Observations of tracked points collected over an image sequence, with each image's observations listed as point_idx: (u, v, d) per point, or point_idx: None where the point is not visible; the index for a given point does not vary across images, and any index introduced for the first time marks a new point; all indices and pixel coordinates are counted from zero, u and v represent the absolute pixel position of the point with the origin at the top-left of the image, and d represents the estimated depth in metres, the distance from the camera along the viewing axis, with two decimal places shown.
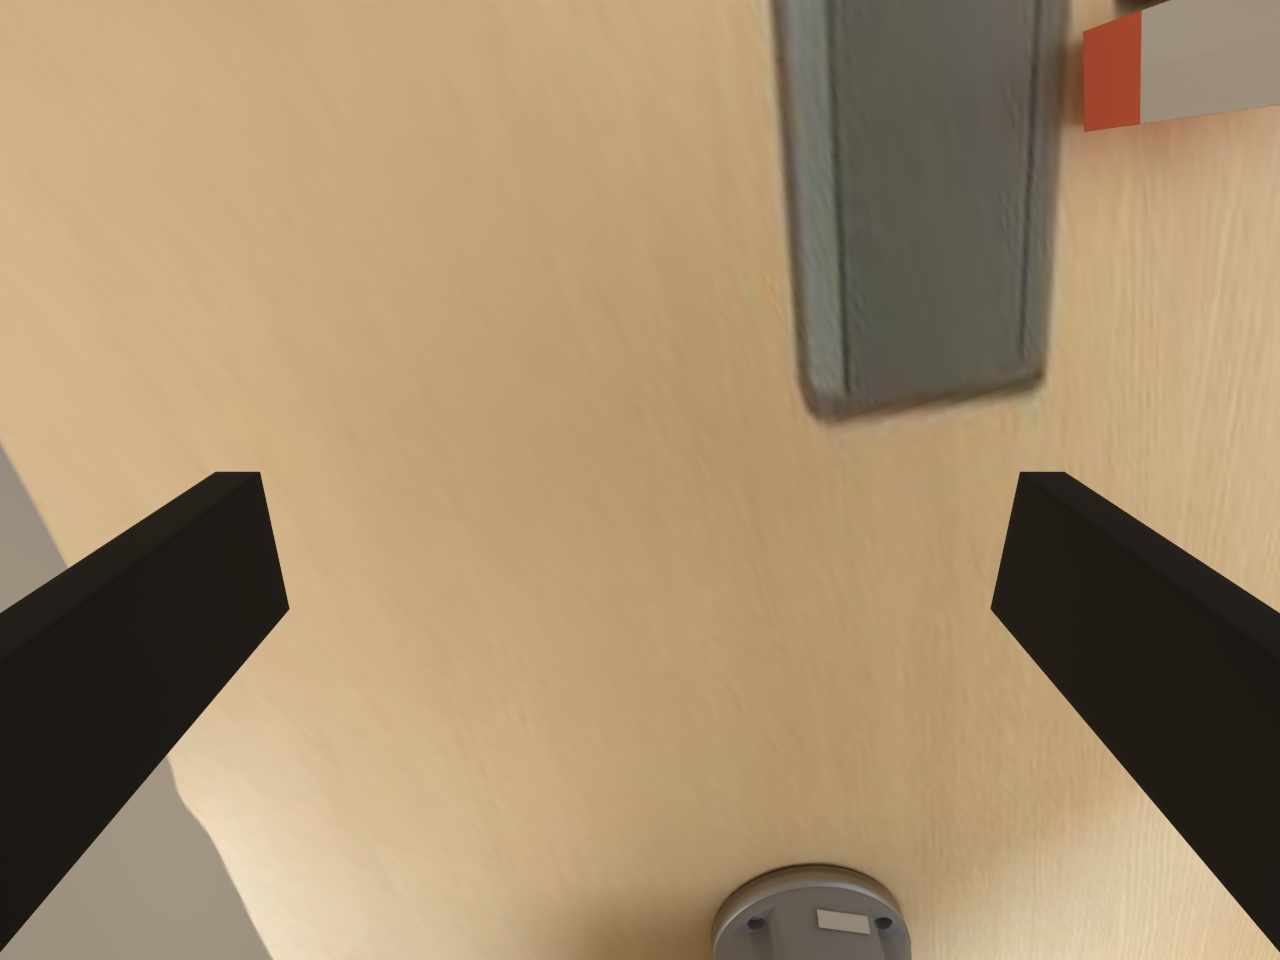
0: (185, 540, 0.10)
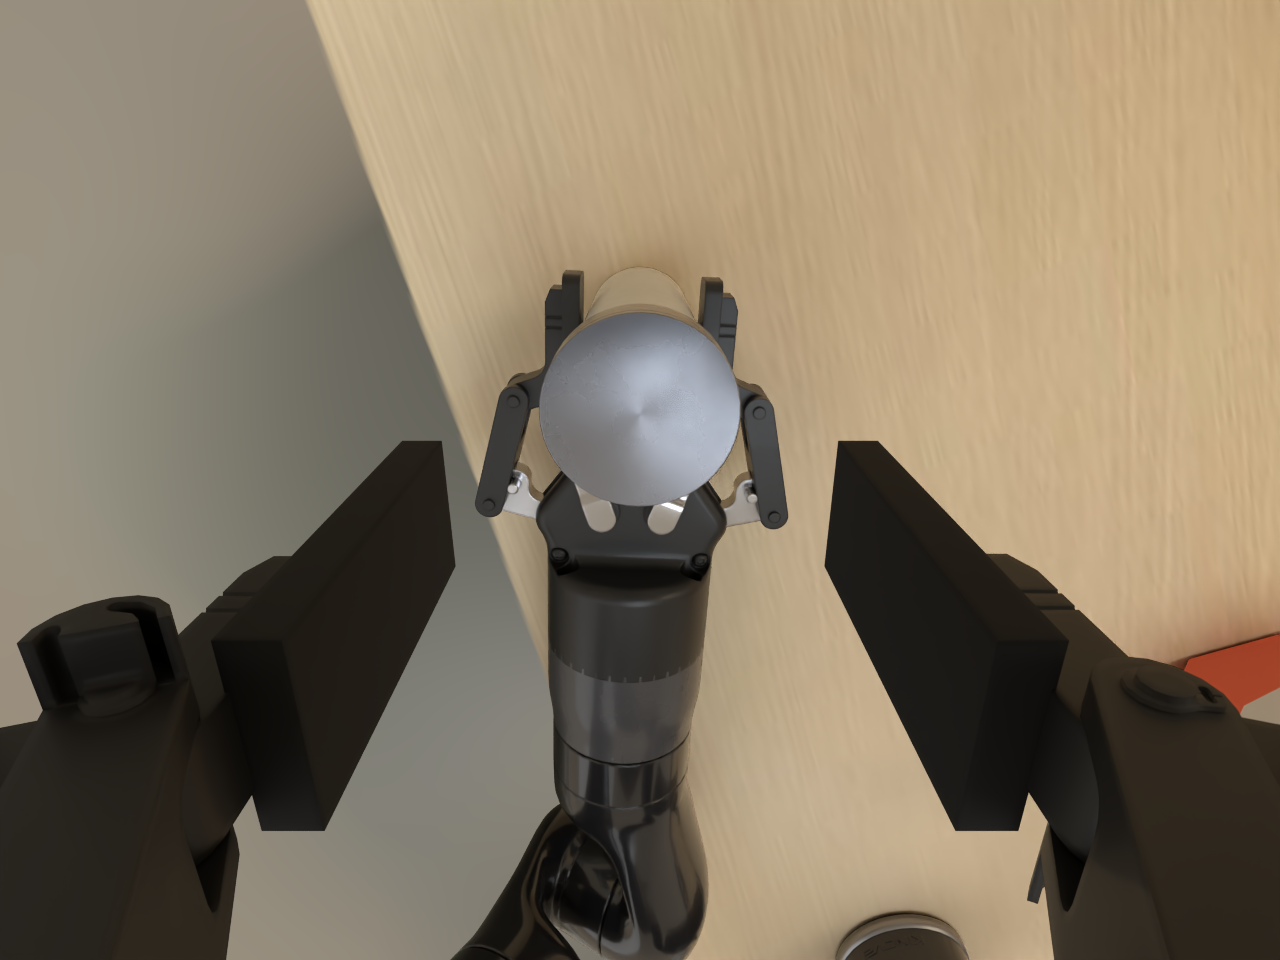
0: (407, 495, 0.12)
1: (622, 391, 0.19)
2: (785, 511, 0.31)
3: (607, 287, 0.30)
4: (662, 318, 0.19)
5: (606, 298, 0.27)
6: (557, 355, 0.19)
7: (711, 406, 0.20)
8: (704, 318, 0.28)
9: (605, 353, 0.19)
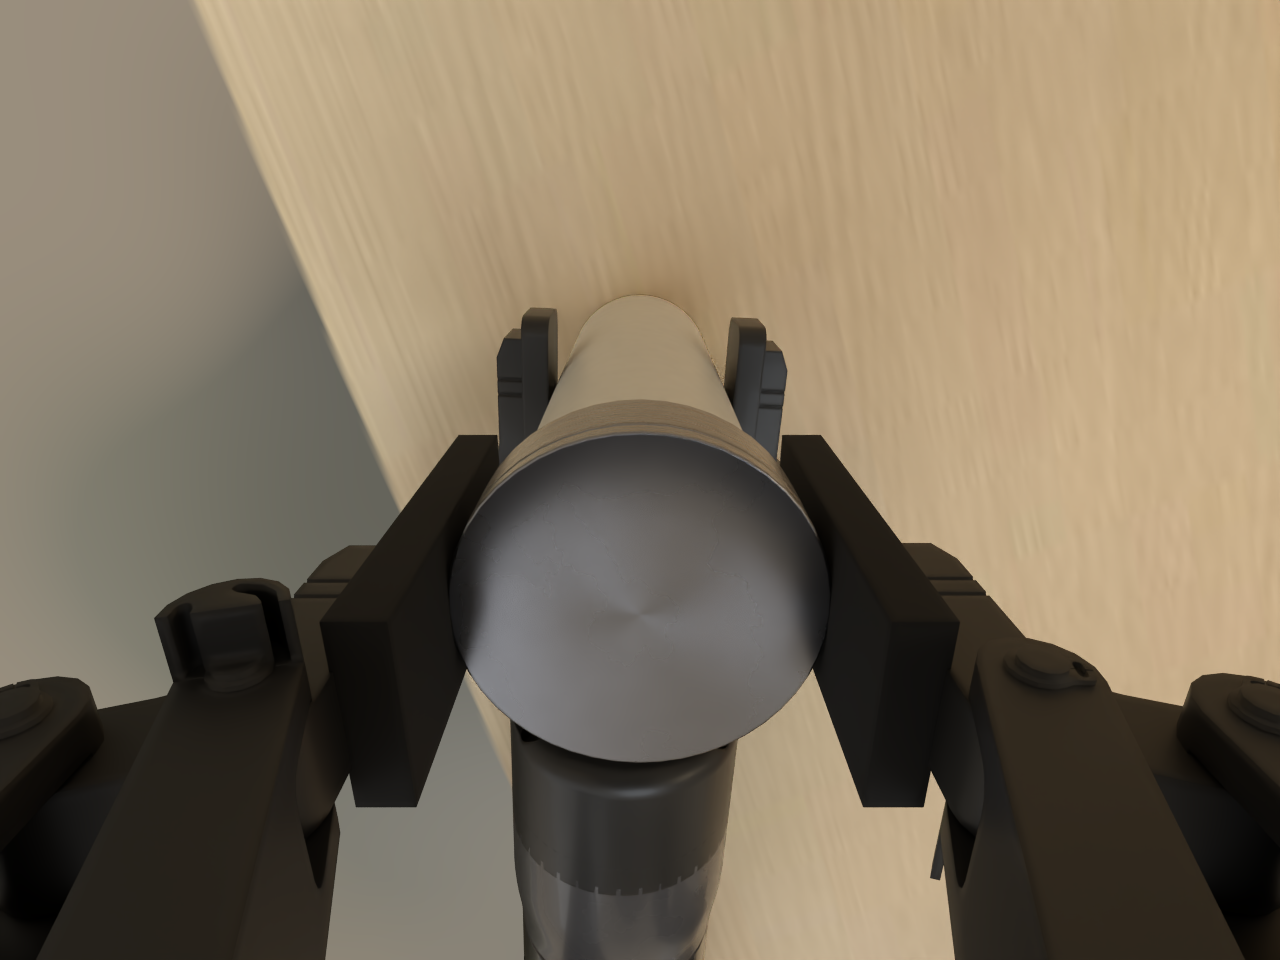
0: (473, 487, 0.12)
1: (606, 574, 0.10)
2: None
3: (593, 329, 0.21)
4: (684, 443, 0.09)
5: (588, 356, 0.17)
6: (478, 511, 0.10)
7: (776, 600, 0.10)
8: (737, 382, 0.18)
9: (572, 507, 0.10)
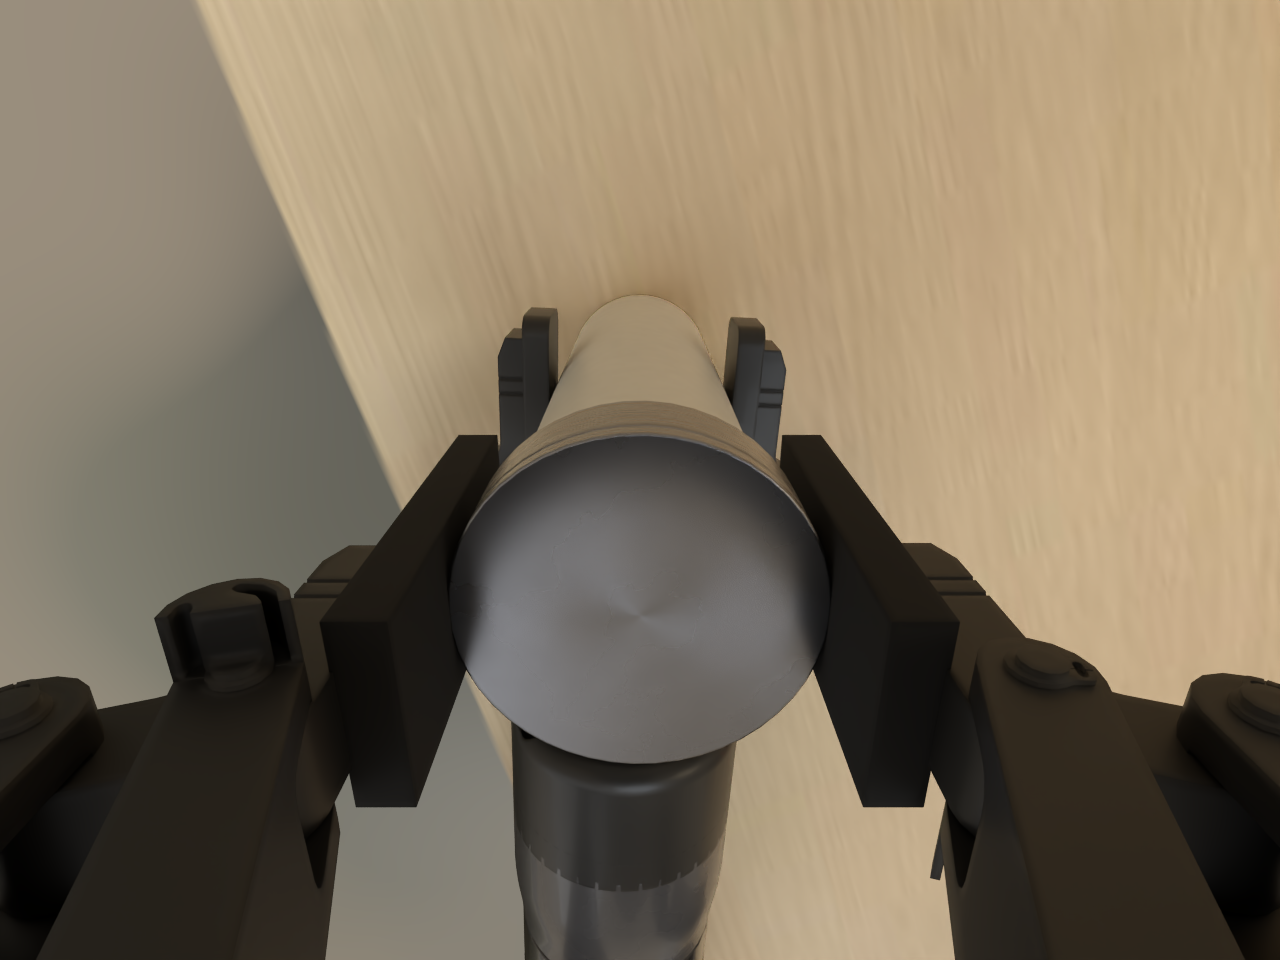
0: (473, 487, 0.12)
1: (615, 658, 0.11)
2: None
3: (593, 329, 0.21)
4: (465, 658, 0.11)
5: (588, 355, 0.17)
6: (614, 761, 0.11)
7: (555, 514, 0.10)
8: (736, 382, 0.18)
9: (571, 705, 0.11)
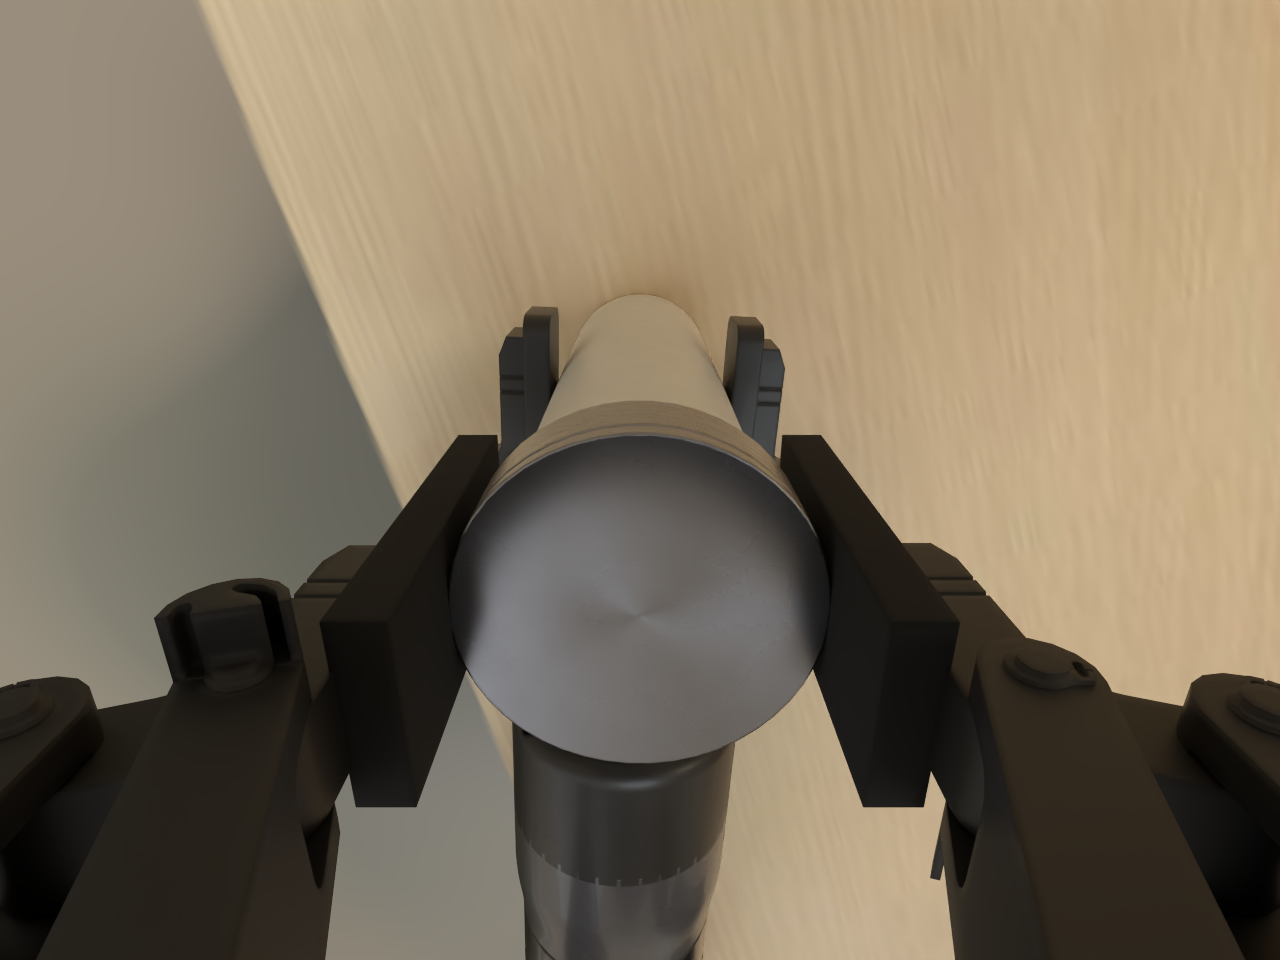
0: (473, 487, 0.12)
1: (695, 613, 0.10)
2: None
3: (593, 328, 0.21)
4: (760, 722, 0.11)
5: (588, 353, 0.17)
6: (823, 557, 0.10)
7: (583, 714, 0.11)
8: (735, 380, 0.19)
9: (771, 624, 0.10)
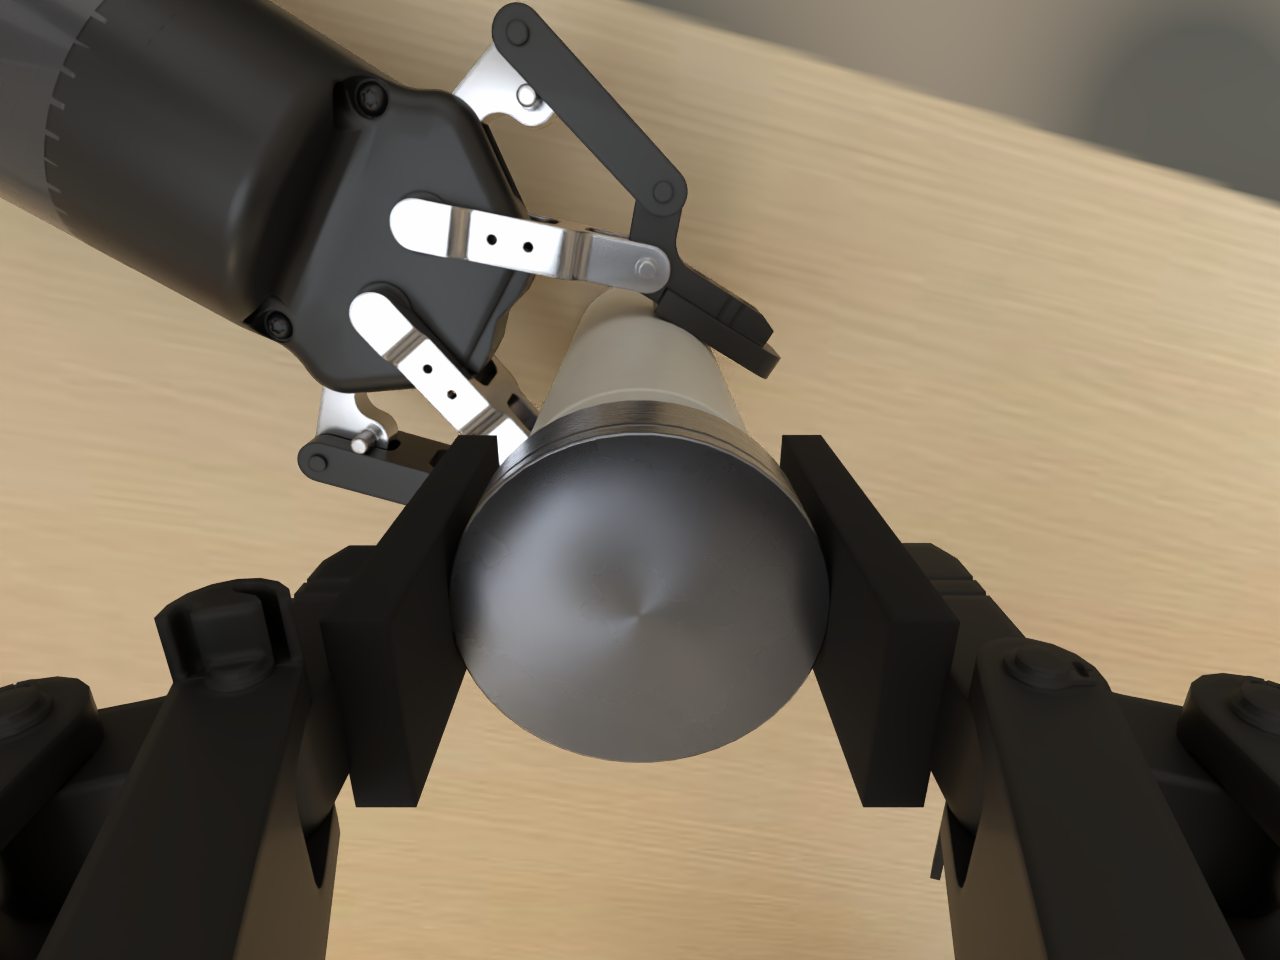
0: (473, 487, 0.12)
1: (695, 612, 0.10)
2: (321, 479, 0.20)
3: None
4: (760, 721, 0.11)
5: None
6: (823, 557, 0.10)
7: (583, 713, 0.11)
8: None
9: (771, 623, 0.10)
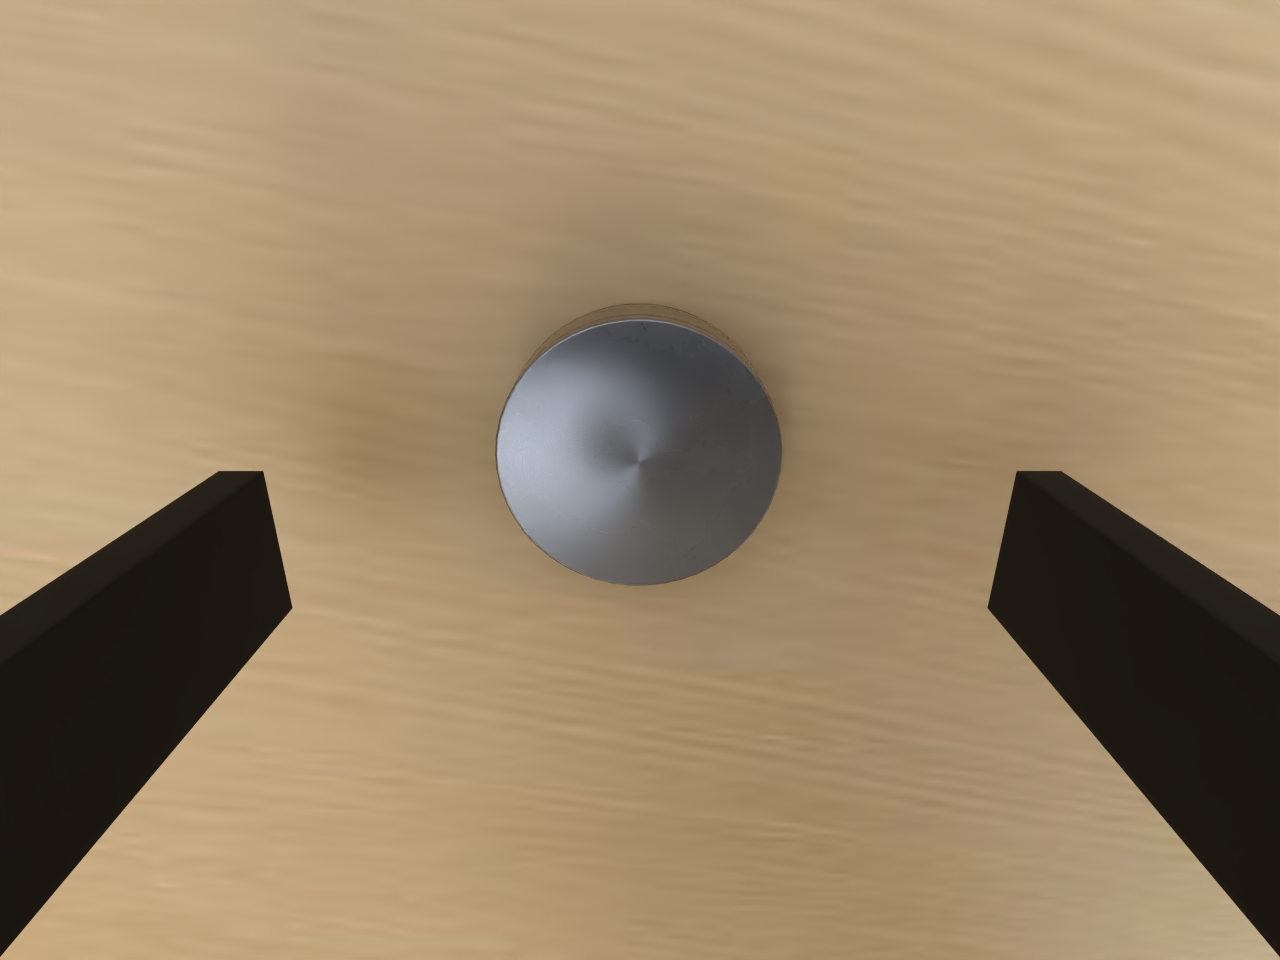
0: (190, 539, 0.10)
1: (680, 461, 0.14)
2: None
3: None
4: (730, 550, 0.15)
5: None
6: (774, 416, 0.14)
7: (596, 543, 0.15)
8: None
9: (737, 470, 0.14)
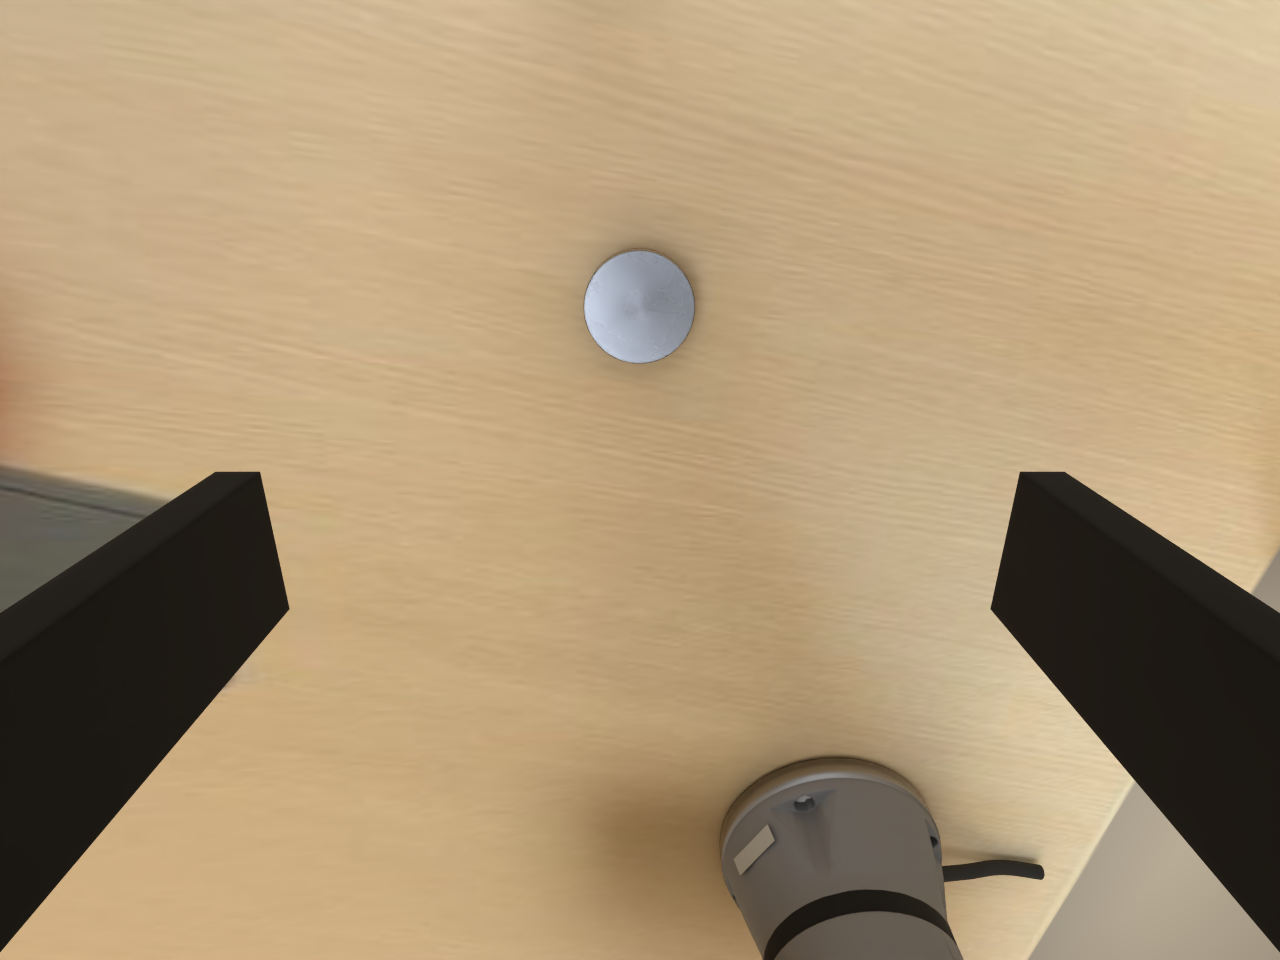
0: (185, 541, 0.10)
1: (655, 308, 0.36)
2: None
3: None
4: (676, 347, 0.37)
5: None
6: (691, 289, 0.35)
7: (622, 344, 0.37)
8: None
9: (677, 311, 0.36)
